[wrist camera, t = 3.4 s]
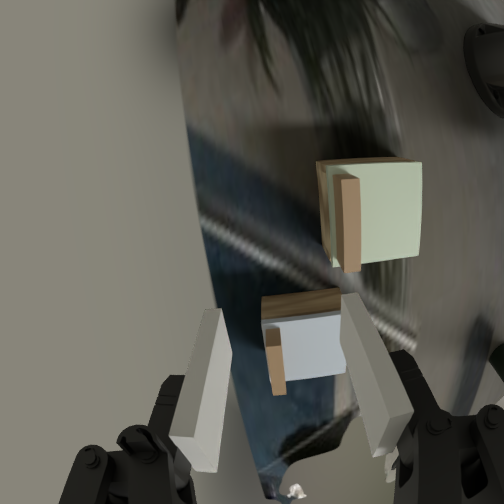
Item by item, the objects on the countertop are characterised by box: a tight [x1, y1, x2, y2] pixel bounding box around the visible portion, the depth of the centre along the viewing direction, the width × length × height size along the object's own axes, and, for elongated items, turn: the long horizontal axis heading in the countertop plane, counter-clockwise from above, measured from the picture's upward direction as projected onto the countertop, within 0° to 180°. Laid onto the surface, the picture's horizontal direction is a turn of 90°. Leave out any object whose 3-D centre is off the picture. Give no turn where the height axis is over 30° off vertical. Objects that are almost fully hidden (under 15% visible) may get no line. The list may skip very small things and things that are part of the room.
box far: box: [261, 287, 342, 320], centre depth 36 cm, size 10×10×4 cm
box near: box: [316, 157, 415, 261], centre depth 29 cm, size 10×10×4 cm
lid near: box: [326, 161, 422, 273], centre depth 24 cm, size 10×10×4 cm
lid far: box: [261, 310, 346, 395], centre depth 31 cm, size 10×10×4 cm
